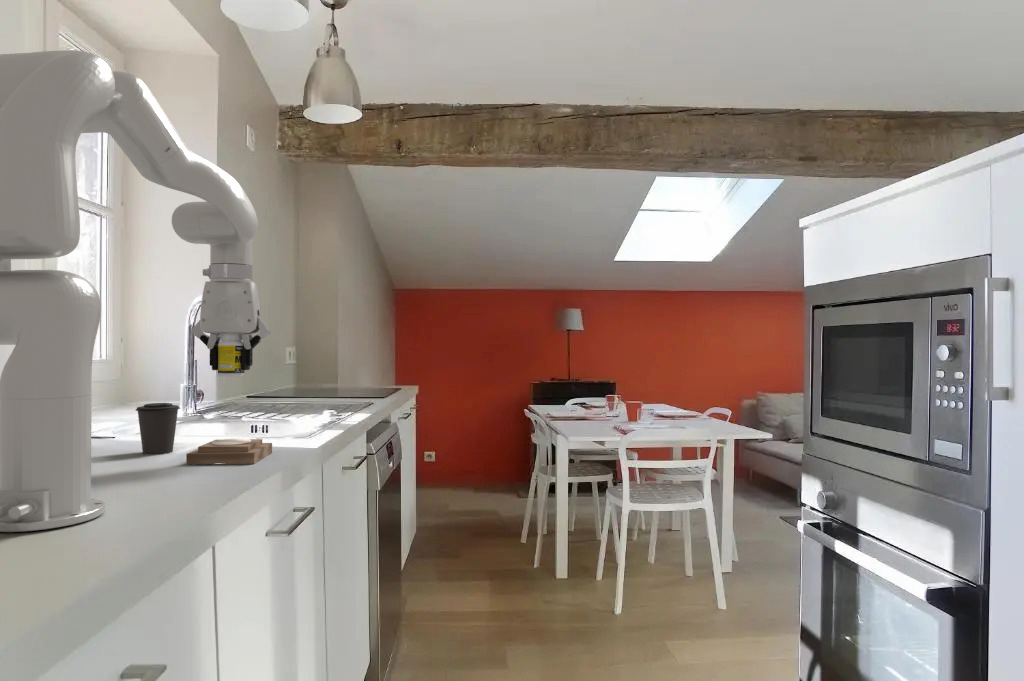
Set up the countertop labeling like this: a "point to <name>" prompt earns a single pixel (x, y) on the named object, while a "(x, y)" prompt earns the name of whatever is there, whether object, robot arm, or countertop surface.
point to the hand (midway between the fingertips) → (231, 368)
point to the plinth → (230, 452)
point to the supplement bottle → (230, 355)
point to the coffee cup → (157, 427)
